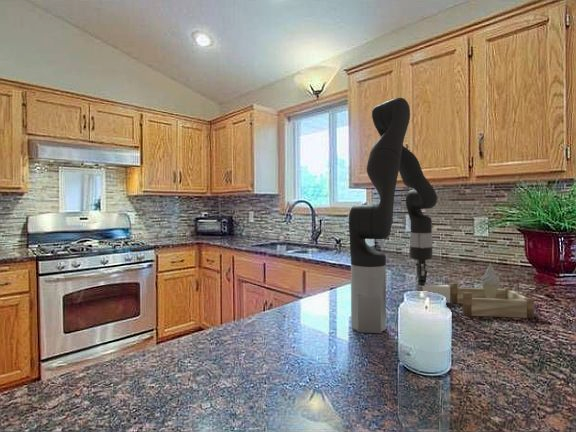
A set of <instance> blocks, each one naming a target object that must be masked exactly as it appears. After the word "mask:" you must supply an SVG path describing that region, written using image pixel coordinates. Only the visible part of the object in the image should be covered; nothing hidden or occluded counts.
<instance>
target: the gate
mask: <svg viewBox="0 0 576 432" xmlns="http://www.w3.org/2000/svg"><path fill="white" fill-rule="evenodd" d="M417 291H428V292H433V293H438V294H441V295H443V296H445V297H446V299H447V301H446V302H450V285H448V284H441V285H440V284H439V285H437V284H436V285H434V284H433V285H425V286H420V285H418V284H416V292H417Z"/></svg>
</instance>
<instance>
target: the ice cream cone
mask: <svg viewBox="0 0 576 432" xmlns="http://www.w3.org/2000/svg"><path fill="white" fill-rule="evenodd" d="M481 284H482V288H483V289H484V293H485V296H486V298H494V299H495V296H496V293H497V290H498V289H499V286H500V278H499V276H498V274H496V270H495V269H494V267H493V265H492V263H491V262H490V263H489V265H488V267H487V268H486V270H485V273H484V275H482V276H481Z"/></svg>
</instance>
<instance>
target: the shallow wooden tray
mask: <svg viewBox="0 0 576 432" xmlns="http://www.w3.org/2000/svg"><path fill="white" fill-rule="evenodd" d="M458 285H459V284H458V282H450V283H449V286H450V301H449V303H450V304H462V315H463V316H466V317H471V316H472V317H473V316H475V317H477V316H478V317H496V318H497V317H499V318H500V317H501V318H523V319H524V318H525V319H526V318H527V319H535V298H534V297H527V296H524V295H522V294H521V293H519V292H517V291H514V290H513V287H510V286H509V287H508V286H504V287H503V288H498V290H497V293H496V296H495V299H494V298H486V296H485V293H484V289H483V287H459V286H458Z"/></svg>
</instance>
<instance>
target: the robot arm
mask: <svg viewBox="0 0 576 432" xmlns="http://www.w3.org/2000/svg"><path fill="white" fill-rule="evenodd" d="M371 111H372V112H371V118H372V122H373V125H374V127H375V129H376V131H377V133H378V135H379V136H380V138H379V139H378V140H377V141H376V142H375V143H374V145H373V147H372V148H371V150H370V152H369V156H368V159H367V166H366V174H367V176H368V178H369V180H370V182H371V183H372V185H373V186H374V188H375V190H376V191H377V194H378V195H379V198H380V200H379V203H378V204H355V205H353V206H351V208H350V211H349V215H348V231H349V233H348V235H349V253H350V318H351V319H350V322H351V323H350V325H351V326H350V327H351V329H353V330H354V331H356V332H357V333H368V334H382V333H383V332H384V331H386V330H387V257H386V254H385V253H383V252H381V251H379V250H376V249H374V248H373V247H371V246H370V245H369V244H368V243H367V242H366V240H386V239H388V238H389V236H390V233H391V232H392V227H393V217H394V216H393V215H394V203H395V193H396V188H397V187H396V186H397V182H398V176H399V175H400V177H401V180H402V182H403V184H404V186H406V187H407V188H412V189H410V190H409V191H408V192H407V194H406V195H405V205H406V209H407V213H408V217H409V221H410V235H409V257H410V259H412V260H416V262H415V263H414V268H415V276H416V278H415V279H416V283H417V285H420V286H426V285H425V284H427V276H428V275H427V274H428V266H429V265H428V264H427V263H426V261H429V260H432V259H433V232H432V231H433V230H432V229H433V227H432V226H433V223H432V220H433V219H432V218H431V216H428V215H425V214H424V213H423V212H422V210H429V209H433V208H434V207H435V206H436V205H437V201H438V196H437V192H436V191H435V189H434V187H433V186H432V184H431V183H430V181H429V180H428V179H427V178H426V176H425V174H424V172H423V170H422V167H421V165H420V160H419V159H418V158H417V156H416V155H415V154H414V153H413V152H412V151H411V150H410V149H408V148H407V147H406V146H404V141H405V137H406V134H407V130H408V127H409V123H410V119H411V108H410V105H409V103H408V101H407V99H405V98H403V97H396V98H395V97H394V98H392V99H390V100H388V101H385V102H383V103H380V104H378V105H376V106H374V107H373V108H372V110H371Z"/></svg>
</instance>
